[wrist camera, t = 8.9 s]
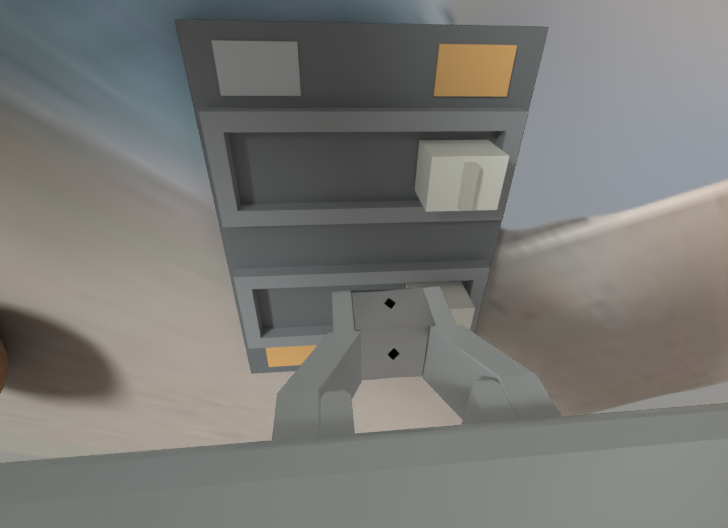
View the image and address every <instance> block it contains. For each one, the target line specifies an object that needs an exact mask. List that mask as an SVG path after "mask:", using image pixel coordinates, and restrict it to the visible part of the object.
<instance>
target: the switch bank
mask: <svg viewBox="0 0 728 528" xmlns="http://www.w3.org/2000/svg"><path fill="white" fill-rule="evenodd" d="M175 23H176V28H177V32H178V37H179V42H180V46H181V51H182V55H183V60H184V65H185V69H186V74H187V78H188V83H189V88H190V92H191V97H192V102H193V106H194V111H195V115H196V120H197V125H198V129H199V134H200V139H201V143H202V148H203V152H204V157H205V162H206V166H207V171H208V175H209V180H210V185H211V189H212V194H213V199H214V203H215V208H216V212H217V217H218V222H219V226H220V231H221V236H222V240H223V245H224V249H225V254H226V259H227V263H228V268H229V273H230V277H231V282H232V286H233V291H234V296H235V300H236V305H237V309H238V314H239V319H240V323H241V328H242V333H243V337H244V342H245V346H246V351H247V356H248V360H249V365H250V370H251V373H268V372H284V371H296V370H297V369H298V368H299V367H300V366H301V364H302V363H303V362H304V361H305V360H306V358H307V357H308V356H309V355H310V354H311V352H312V351H313V350H314V349H315V348H316V346H317V345H318V344H319V343H320V342H321V340H322V339H323V338H324V337H325V336H326V334H327V333H329V332H333V310H332V291H349V290H350V292H351V290H379V289H404V288H406V283H427V282H451V281H461V282H462V284H463V286H464V288H465V290H466V292H467V293H468V295H469V297H470V299H471V301H472V303H473V305H474V307H475V311H474V315H473V319H472V324H471V328H470V330H471V331H472V332H474V333H475V330H476V326H477V322H478V317H479V313H480V309H481V305H482V301H483V297H484V293H485V289H486V285H487V281H488V276H489V272H490V268H491V262H492V258H493V254H494V250H495V246H496V242H497V238H498V234H499V230H500V225H501V221H502V219H503V215H504V211H505V207H506V202H507V198H508V194H509V190H510V186H511V182H512V178H513V174H514V170H515V166H516V162H517V157H518V153H519V149H520V145H521V141H522V137H523V133H524V129H525V124H526V121H527V116H528V110H529V106H530V102H531V98H532V94H533V90H534V86H535V81H536V77H537V73H538V69H539V65H540V61H541V57H542V53H543V49H544V44H545V40H546V36H547V32H548V27H535V26H487V25H439V24H389V23H339V22H290V21H240V20H190V19H176V20H175ZM419 140H489V141H490V142H492V143H493V144H494V145H496V146H497V147H498V148H500V149H501V150H502V151H504V152H505V153H506V154H508V155H509V160H508V165H507V169H506V173H505V178H504V182H503V186H502V191H501V195H500V199H499V203H498V208H497V210H474V211H432V212H426V211H425V209H424V207H423V206H422V204H421V202H420V200H419V198H418V196H417V194H416V192H415V180H416V169H417V159H418V149H419Z"/></svg>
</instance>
